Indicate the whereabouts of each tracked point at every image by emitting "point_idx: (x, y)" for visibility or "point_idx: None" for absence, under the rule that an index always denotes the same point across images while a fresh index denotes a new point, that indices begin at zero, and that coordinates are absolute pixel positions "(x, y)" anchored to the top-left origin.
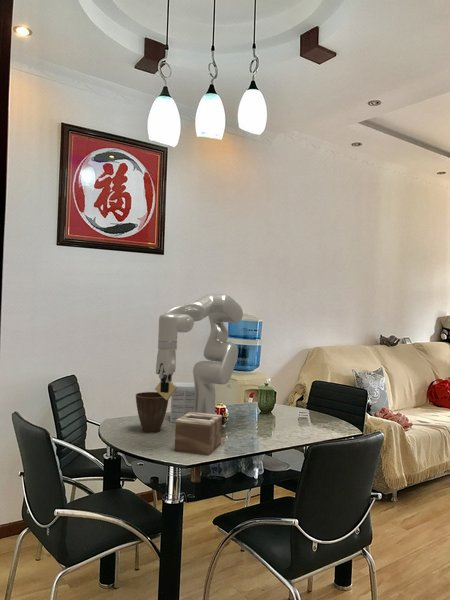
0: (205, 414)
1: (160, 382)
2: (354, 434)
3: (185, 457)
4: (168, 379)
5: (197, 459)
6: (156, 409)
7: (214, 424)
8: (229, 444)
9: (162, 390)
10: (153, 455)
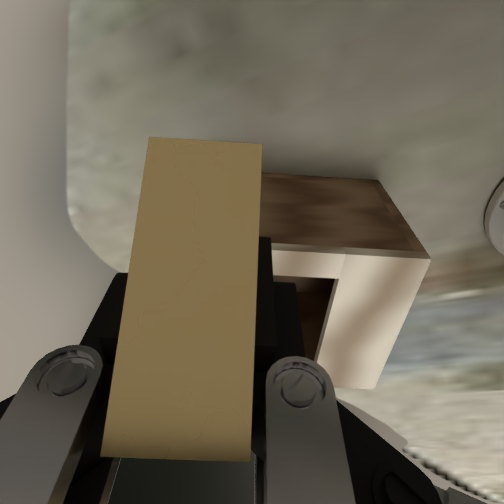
0: (373, 337)
1: (123, 317)
2: (492, 497)
3: None
4: (255, 442)
5: None
6: None
7: None
8: None
9: (121, 275)
10: (94, 102)
